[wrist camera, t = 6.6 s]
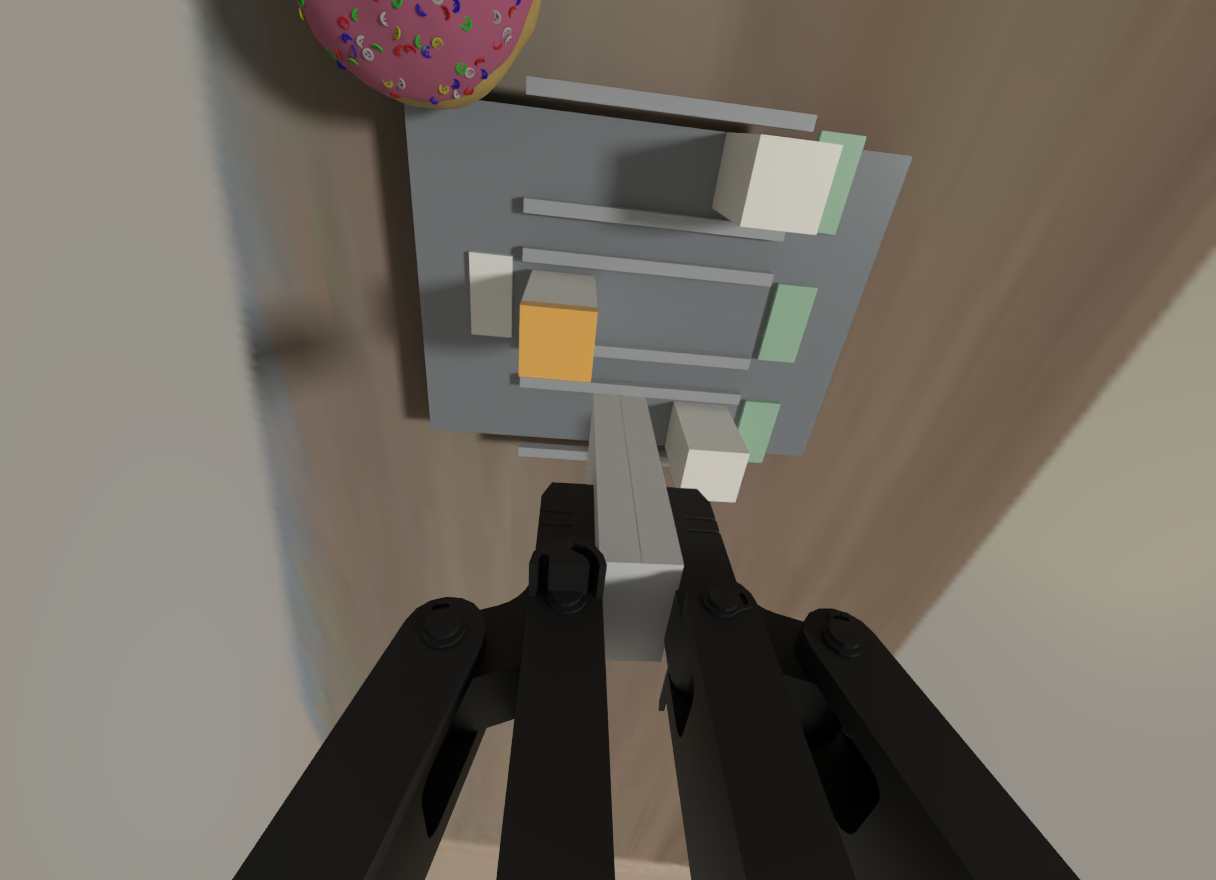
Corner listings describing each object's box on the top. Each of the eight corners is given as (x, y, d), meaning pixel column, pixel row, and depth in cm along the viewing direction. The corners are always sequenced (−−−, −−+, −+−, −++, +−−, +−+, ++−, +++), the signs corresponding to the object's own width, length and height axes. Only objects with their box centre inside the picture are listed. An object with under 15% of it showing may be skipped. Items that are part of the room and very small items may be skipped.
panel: (414, 64, 22) (351, 42, 16) (898, 129, 24) (1002, 131, 18) (440, 426, 31) (406, 498, 25) (786, 451, 33) (830, 523, 27)
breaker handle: (532, 269, 24) (519, 304, 20) (595, 276, 25) (597, 312, 20) (530, 330, 26) (518, 376, 21) (589, 335, 26) (591, 382, 21)
